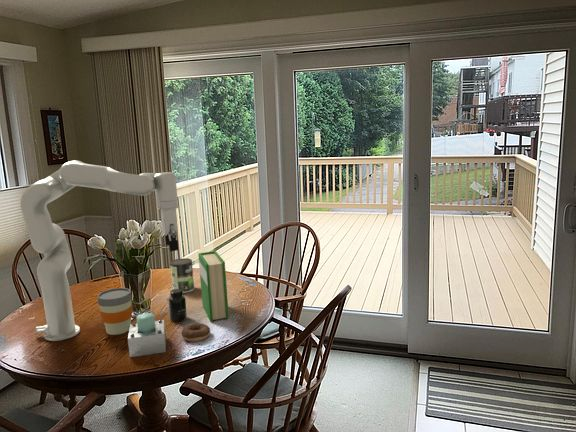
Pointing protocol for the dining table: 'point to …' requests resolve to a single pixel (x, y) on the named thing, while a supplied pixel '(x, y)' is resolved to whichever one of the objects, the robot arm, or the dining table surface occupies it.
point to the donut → (195, 332)
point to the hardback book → (213, 285)
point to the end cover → (146, 323)
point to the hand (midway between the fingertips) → (172, 247)
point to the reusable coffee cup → (116, 310)
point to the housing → (147, 340)
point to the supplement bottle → (177, 306)
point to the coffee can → (182, 275)
